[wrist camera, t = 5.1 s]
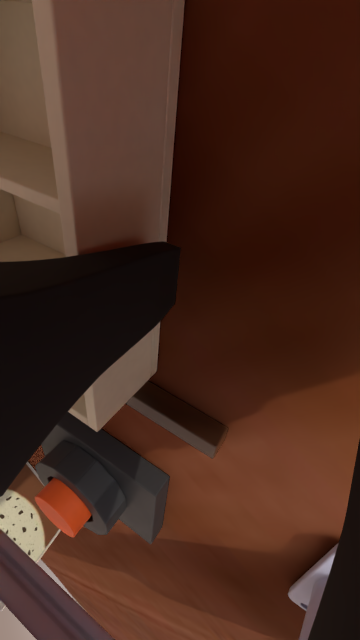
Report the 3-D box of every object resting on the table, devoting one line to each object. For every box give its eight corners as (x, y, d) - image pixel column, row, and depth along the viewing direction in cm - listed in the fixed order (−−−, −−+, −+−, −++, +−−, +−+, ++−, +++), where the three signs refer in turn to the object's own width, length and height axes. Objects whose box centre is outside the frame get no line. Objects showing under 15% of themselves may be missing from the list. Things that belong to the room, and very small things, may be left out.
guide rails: (424, -180, 5) (417, -227, 4) (225, 439, 16) (212, 459, 15) (-125, -116, 11) (-171, -130, 10) (1, 305, 22) (-16, 314, 21)
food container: (-1, 445, 43) (-86, 516, 36) (15, 446, 39) (-78, 527, 32) (57, 516, 45) (-13, 594, 39) (78, 524, 41) (4, 615, 34)
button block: (170, 476, 21) (134, 528, 19) (162, 526, 26) (133, 572, 24) (45, 389, 25) (2, 423, 23) (59, 448, 30) (26, 480, 28)
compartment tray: (186, -9, 8) (46, -49, 5) (157, 371, 16) (97, 432, 13) (-29, -24, 11) (-191, -54, 8) (39, 305, 19) (-29, 344, 16)
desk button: (92, 498, 22) (71, 523, 20) (95, 521, 24) (77, 544, 23) (51, 466, 23) (30, 488, 22) (59, 490, 25) (39, 511, 24)
